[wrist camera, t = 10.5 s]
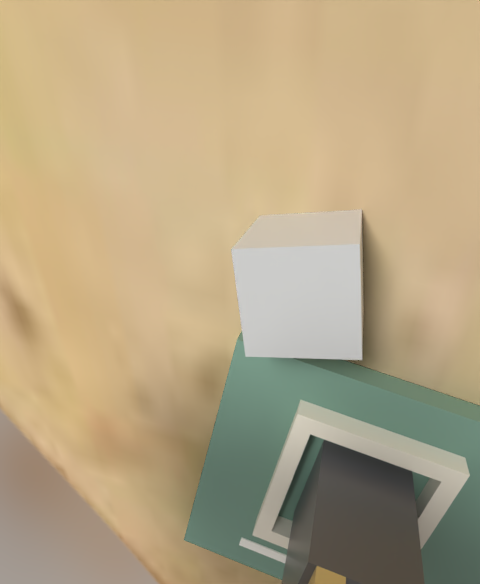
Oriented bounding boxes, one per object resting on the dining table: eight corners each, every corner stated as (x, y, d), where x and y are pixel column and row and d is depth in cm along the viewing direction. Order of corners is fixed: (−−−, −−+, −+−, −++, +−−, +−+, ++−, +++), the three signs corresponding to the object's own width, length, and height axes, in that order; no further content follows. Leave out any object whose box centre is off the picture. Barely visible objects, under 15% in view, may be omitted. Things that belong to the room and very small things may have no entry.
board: (613, 450, 19) (641, 493, 17) (462, 631, 25) (470, 677, 23) (244, 326, 21) (231, 351, 19) (191, 522, 27) (177, 555, 25)
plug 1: (361, 209, 17) (359, 244, 14) (363, 304, 19) (362, 360, 15) (260, 215, 18) (231, 249, 15) (269, 304, 20) (245, 356, 16)
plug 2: (412, 470, 20) (430, 635, 14) (372, 541, 22) (373, 709, 16) (324, 439, 21) (304, 585, 15) (294, 511, 23) (267, 663, 17)
